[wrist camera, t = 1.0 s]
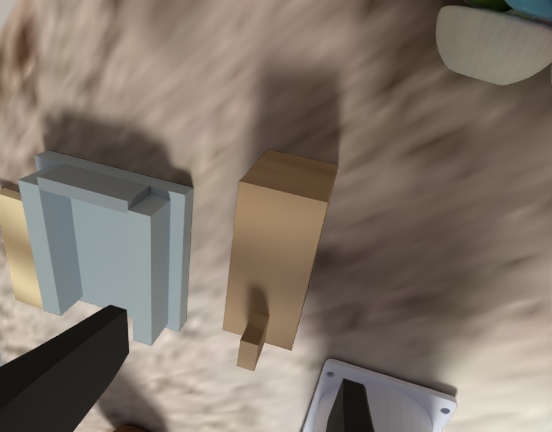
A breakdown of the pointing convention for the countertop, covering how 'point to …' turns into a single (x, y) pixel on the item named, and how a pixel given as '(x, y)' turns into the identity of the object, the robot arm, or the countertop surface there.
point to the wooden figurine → (129, 429)
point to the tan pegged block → (274, 249)
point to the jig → (109, 240)
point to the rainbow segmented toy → (496, 39)
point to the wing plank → (19, 248)
